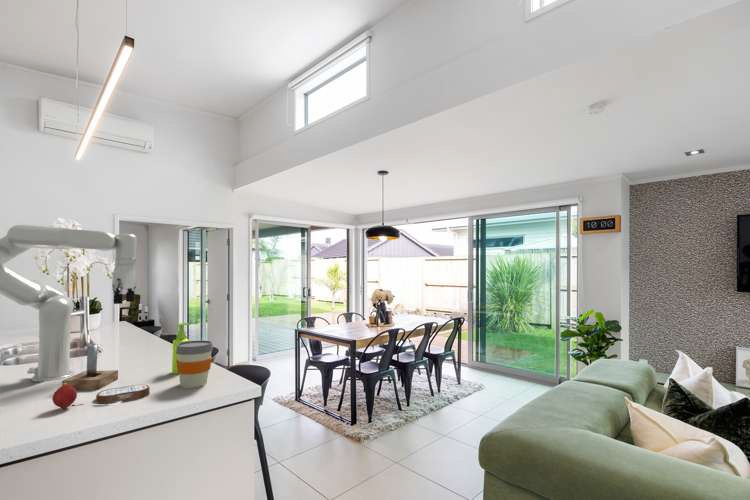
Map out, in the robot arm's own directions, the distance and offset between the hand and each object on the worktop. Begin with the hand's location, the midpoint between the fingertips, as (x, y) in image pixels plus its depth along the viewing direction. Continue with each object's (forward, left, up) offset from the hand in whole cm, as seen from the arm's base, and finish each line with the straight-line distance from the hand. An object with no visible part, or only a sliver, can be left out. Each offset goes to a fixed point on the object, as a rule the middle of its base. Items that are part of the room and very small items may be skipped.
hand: (124, 302), depth 162 cm
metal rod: (+1, -23, -28) cm, 36 cm away
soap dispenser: (+26, -6, -28) cm, 39 cm away
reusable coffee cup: (+37, -24, -28) cm, 53 cm away
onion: (+6, -45, -28) cm, 54 cm away
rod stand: (+1, -23, -28) cm, 36 cm away
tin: (+17, -33, -27) cm, 46 cm away
